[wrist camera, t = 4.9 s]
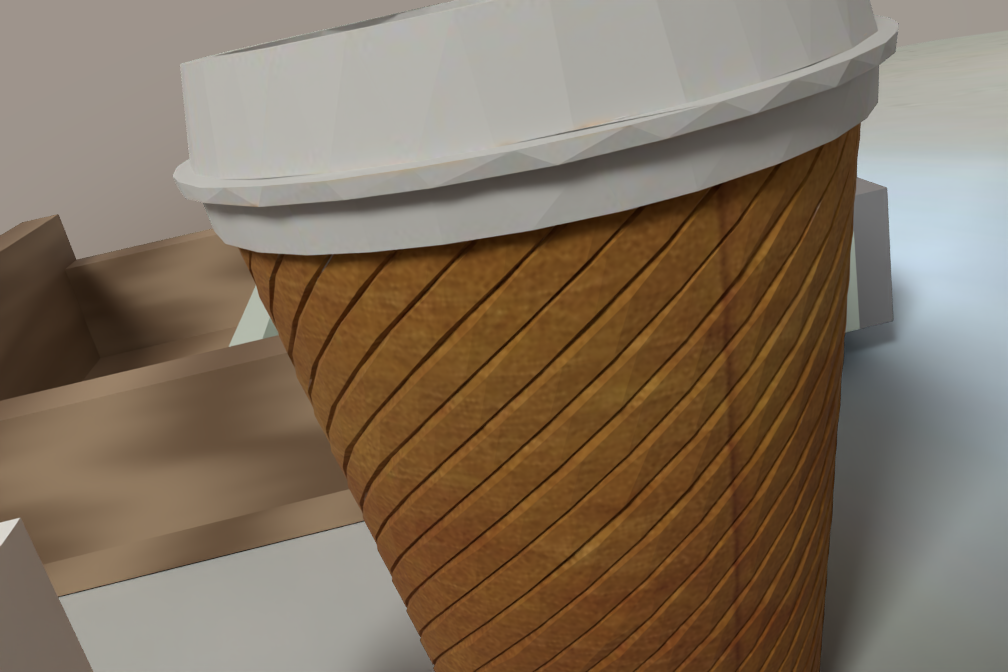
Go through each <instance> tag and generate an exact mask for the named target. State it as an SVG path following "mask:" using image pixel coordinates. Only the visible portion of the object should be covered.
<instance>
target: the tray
mask: <svg viewBox="0 0 1008 672" xmlns="http://www.w3.org/2000/svg"><path fill="white" fill-rule="evenodd" d="M891 321H893V305H892V283H891V261H890V239H889V218H888V196H887V188H886V187H883V186H880V185H878V184H875V183H872V182H869V181H866V180H863V179H861V178H858V177H857V181H856V194H855V201H854V218H853V238H852V245H851V253H850V281H849V288H848V295H847V321H846V330H845V333H846V332H850V331H854V330H858V329H862V328H866V327H870V326H874V325H878V324H883V323H887V322H891ZM277 335H279V334H278V331H277V329H276V327H275V326H274V324H273V322H272V320H271V318H270V316H269V314H268V312H267V311H266V309H265V307H264V305H263V303H262V301H261V299H260V297H259V294H258V290H257V287H256V286H255V288H254V290H253V293H252V295H251V297H250V299H249V302H248V304H247V306H246V309H245V311H244V313H243V315H242V318H241V320H240V322H239V324H238V327H237V329H236V331H235V333H234V336H233V338H232V340H231V342H230V345H229V347H230V346H235V345H239V344H243V343H247V342H252V341H256V340H260V339H264V338H268V337H273V336H277Z"/></svg>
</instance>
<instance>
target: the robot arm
mask: <svg viewBox="0 0 1008 672" xmlns="http://www.w3.org/2000/svg"><path fill="white" fill-rule="evenodd" d="M0 672H93V670H92V668H91V666H90V664H89V662H88V660H87V658H86V655H85V653H84V651H83V649H82V647H81V645H80V643H79V641H78V638H77V636H76V634H75V632H74V630H73V628H72V626H71V624H70V621H69V619H68V617H67V615H66V613H65V611H64V609H63V607H62V605H61V602H60V600H59V598H58V596H57V594H56V592H55V590H54V588H53V585H52V583H51V581H50V579H49V577H48V575H47V573H46V571H45V569H44V566H43V564H42V562H41V560H40V558H39V556H38V554H37V552H36V549H35V547H34V545H33V543H32V541H31V539H30V537H29V535H28V533H27V530H26V528H25V526H24V524H23V522H22V520H21V518H17V519H13V520H9V521H5V522H1V523H0Z"/></svg>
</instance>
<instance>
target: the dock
mask: <svg viewBox="0 0 1008 672" xmlns="http://www.w3.org/2000/svg"><path fill="white" fill-rule="evenodd" d="M255 286H256V284H255V282H254V280H253V278H252V276H251V274H250V272H249V270H248V267H247V265H246V263H245V261H244V259H243V257H242V255H241V253H240V251H239V249H238V247H236V246H232V245H228V244H225V243H224V242H223V241H222V239H221V238H220V237H219V236H218V235H217V234H216V233H215V231H214V229H209V230H205V231H200V232H196V233H191V234H187V235H182V236H178V237H174V238H169V239H165V240H161V241H156V242H152V243H147V244H144V245H139V246H134V247H131V248H126V249H121V250H117V251H113V252H109V253H104V254H100V255H95V256H91V257H86V258H82V259H78V260H76V258H75V255H74V253H73V250H72V248H71V245H70V242H69V240H68V238H67V235H66V232H65V230H64V227H63V225H62V222H61V220H60V217H59V215H58V214H57V215H53V216H49V217H44V218H40V219H35V220H31V221H27V222H22V223H20V224H19V225H17V226H15V227H14V228H12V229H10V230H9V231H7V232H5V233H4V234H2V235H0V523H1V522H5V521H9V520H13V519H17V518H21V520H22V522H23V524H24V526H25V528H26V530H27V533H28V535H29V537H30V539H31V541H32V543H33V545H34V547H35V549H36V552H37V554H38V556H39V558H40V560H41V562H42V564H43V566H44V569H45V571H46V573H47V575H48V577H49V579H50V581H51V583H52V585H53V588H54V590H55V592H56V594H57V596H62V595H66V594H70V593H74V592H78V591H82V590H86V589H90V588H94V587H98V586H102V585H106V584H110V583H114V582H118V581H123V580H127V579H131V578H135V577H139V576H143V575H147V574H151V573H155V572H159V571H163V570H167V569H171V568H175V567H179V566H183V565H187V564H191V563H195V562H199V561H203V560H207V559H211V558H215V557H219V556H223V555H227V554H231V553H235V552H239V551H243V550H247V549H251V548H255V547H259V546H263V545H267V544H271V543H276V542H280V541H284V540H288V539H292V538H296V537H300V536H304V535H308V534H312V533H316V532H320V531H324V530H328V529H332V528H336V527H340V526H344V525H348V524H352V523H356V522H360V521H364V519H363V513H362V511H361V510H360V508H359V506H358V504H357V502H356V501H355V499H354V497H353V495H352V493H351V491H350V490H349V488H348V483H347V479H346V477H345V475H344V474H343V472H342V470H341V468H340V466H339V464H338V463H337V461H336V459H335V457H334V455H333V453H332V452H331V446H330V443H329V441H328V439H327V437H326V435H325V434H324V432H323V430H322V428H321V426H320V424H319V423H318V421H317V419H316V417H315V415H314V409H313V406H312V405H311V403H310V401H309V399H308V397H307V395H306V394H305V392H304V390H303V388H302V386H301V384H300V382H299V381H298V379H297V376H296V370H295V367H294V365H293V364H292V362H291V360H290V358H289V356H288V354H287V352H286V350H285V348H284V345H283V343H282V341H281V339H280V337H279V335H277V336H273V337H268V338H264V339H260V340H256V341H252V342H247V343H243V344H239V345H235V346H230V347H229V345H230V342H231V340H232V338H233V336H234V333H235V331H236V329H237V327H238V324H239V322H240V320H241V318H242V315H243V313H244V311H245V309H246V306H247V304H248V302H249V299H250V297H251V295H252V293H253V290H254V288H255Z"/></svg>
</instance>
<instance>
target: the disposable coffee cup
mask: <svg viewBox="0 0 1008 672" xmlns="http://www.w3.org/2000/svg"><path fill="white" fill-rule="evenodd" d="M898 26H899V23H897V22H896V21H894V20H893V19H891V18H889V17H883V16H878V15H874V14H873V11H872V7H871V4H870V0H454V1H449V2H445V3H441V4H436V5H432V6H427V7H423V8H418V9H414V10H409V11H405V12H401V13H396V14H391V15H387V16H382V17H378V18H374V19H369V20H365V21H360V22H356V23H352V24H347V25H343V26H339V27H334V28H329V29H326V30H321V31H316V32H312V33H307V34H302V35H298V36H294V37H289V38H285V39H280V40H276V41H271V42H267V43H263V44H258V45H254V46H250V47H245V48H241V49H237V50H232V51H228V52H224V53H220V54H216V55H212V56H208V57H204V58H200V59H197V60H193V61H189V62H186V63H182V64H180V69H181V77H182V78H181V79H182V89H183V98H184V108H185V118H186V127H187V137H188V148H189V157H190V159H188V160H187V161H185V162H183V163H182V164H180V165H179V166H177V168H176V170H175V172H174V174H173V178H174V180H175V182H176V184H177V186H178V188H179V190H180V192H181V193H182V194H183V195H184V197H185V198H186V199H190V200H194V201H198V202H202V203H203V204H204V207H205V209H206V212H207V214H208V217H209V219H210V222H211V224H212V227H213V229H214V231H215V233H216V234H217V235H218V236H219V237H220V238H221V239H222V241H223V242H224V243H225V244H228V245H232V246H236V247H238V249H239V251H240V253H241V255H242V257H243V259H244V261H245V263H246V265H247V267H248V270H249V272H250V274H251V276H252V278H253V280H254V282H255V284H256V287H257V290H258V294H259V297H260V299H261V301H262V303H263V305H264V307H265V309H266V311H267V312H268V314H269V316H270V318H271V320H272V322H273V324H274V326H275V327H276V329H277V331H278V334H279V337H280V339H281V341H282V343H283V345H284V348H285V350H286V352H287V354H288V356H289V358H290V360H291V362H292V364H293V365H294V367H295V370H296V376H297V379H298V381H299V382H300V384H301V386H302V388H303V390H304V392H305V394H306V395H307V397H308V399H309V401H310V403H311V405H312V406H313V409H314V415H315V417H316V419H317V421H318V423H319V424H320V426H321V428H322V430H323V432H324V434H325V435H326V437H327V439H328V441H329V443H330V446H331V452H332V453H333V455H334V457H335V459H336V461H337V463H338V464H339V466H340V468H341V470H342V472H343V474H344V475H345V477H346V479H347V483H348V488H349V490H350V491H351V493H352V495H353V497H354V499H355V501H356V502H357V504H358V506H359V508H360V510H361V511H362V513H363V519H364V521H365V523H366V525H367V527H368V528H369V530H370V532H371V534H372V536H373V538H374V540H375V542H376V544H377V548H378V551H379V553H380V555H381V557H382V559H383V561H384V563H385V565H386V566H387V568H388V570H389V572H390V574H391V576H392V582H393V583H394V585H395V587H396V589H397V591H398V593H399V595H400V596H401V598H402V600H403V602H404V604H405V606H406V607H407V613H408V615H409V617H410V619H411V620H412V622H413V624H414V626H415V628H416V630H417V632H418V634H419V636H420V637H421V639H420V641H421V643H422V645H423V647H424V649H425V650H426V652H427V654H428V656H429V658H430V660H431V662H432V664H434V665H435V666H434V668H433V669H434V671H435V672H820V657H821V644H822V629H823V621H824V607H825V592H826V584H827V563H828V555H829V540H830V529H831V522H832V509H833V488H834V475H835V456H836V446H837V426H838V419H839V412H840V400H841V376H842V369H843V361H844V337H845V330H846V321H847V295H848V288H849V281H850V253H851V245H852V238H853V218H854V201H855V194H856V181H857V156H858V149H859V141H860V126H861V122H862V121H863V120H865V119H866V118H867V117H868V116H869V114H870V113H871V111H872V110H873V109H874V107H875V106H876V104H877V103H878V86H879V65H880V64H881V63H882V62H884V61H885V60H886V59H888V58H889V57H890V56H891V55H893V54H894V53H895V52H896V43H897V35H898Z"/></svg>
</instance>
